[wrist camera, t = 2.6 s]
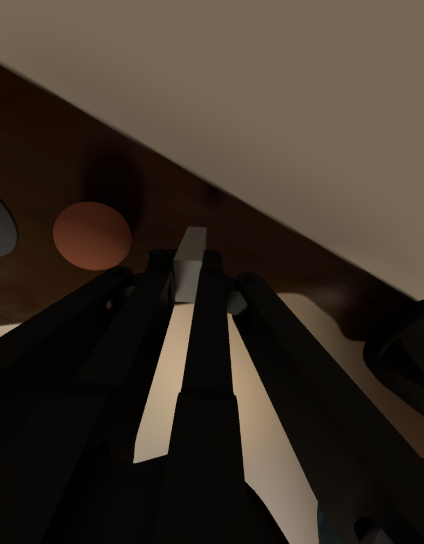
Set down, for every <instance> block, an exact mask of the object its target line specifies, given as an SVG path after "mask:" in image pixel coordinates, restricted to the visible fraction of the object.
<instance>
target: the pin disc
mask: <svg viewBox="0 0 424 544" xmlns="http://www.w3.org/2000/svg"><path fill="white" fill-rule="evenodd" d="M17 241H18V232H17V227H16V224H15V222H14V219H13V217H12V216H11V214H10V212H9V211H8V210H7V208H6V207H5V206H4V205H3V203H2V202H1V201H0V256H4V255H6V254H8V253H10V252H11V251H13V249H14V248H15V247H16V244H17Z"/></svg>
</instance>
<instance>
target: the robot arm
mask: <svg viewBox="0 0 424 544" xmlns="http://www.w3.org/2000/svg"><path fill="white" fill-rule="evenodd" d="M146 254H147V263H148V268H147V269H146V271H145V272H144V273H139V274H132V269H131V268H129V267H123V266H118V267H115V268H111V269H109V270H107V271H105V272H104V273H102V274H101V275H99V276H97V277H96V278H94V279H93V280H91V281H89V282H88V283H86V284H85V285H83V286H81V287H80V288H78V289H77V290H75V291H73V292H72V293H70V294H69V295H67V296H65V297H64V298H62V299H60V300H59V301H57V302H56V303H54V304H52V305H51V306H49V307H48V308H46V309H44V310H43V311H41V312H40V313H38V314H36V315H35V316H33V317H32V318H30V319H28V320H27V321H25V322H24V323H22V324H20V325H19V326H17V327H16V328H14V329H12V330H11V331H9V332H8V333H6V334H4V335H3V336H1V337H0V544H289V542H288V540H287V539H286V537H285V536H284V534H283V532H282V531H281V529H280V528H279V526H278V524H277V523H276V521H275V519H274V518H273V516H272V515H271V513H270V511H269V510H268V508H267V507H266V505H265V504H264V503H263V501H262V500H261V499H260V497H259V496H258V495H257V494H256V492H255V491H254V490H253V489H252V488H251V487H250V486H249V485H248V484H247V483H246V482H245V479H244V467H243V456H242V446H241V434H240V423H239V412H238V404H237V399H236V396H235V395H234V393H233V383H232V370H231V359H230V344H229V331H228V318H227V313H230V314H232V318H233V320H234V323H235V325H236V327H237V329H238V331H239V333H240V336H241V338H242V340H243V342H244V344H245V346H246V348H247V350H248V353H249V355H250V357H251V359H252V362H253V363H254V366H255V368H256V370H257V372H258V374H259V376H260V379H261V381H262V383H263V385H264V387H265V390H266V392H267V394H268V396H269V398H270V400H271V402H272V405H273V407H274V409H275V411H276V413H277V415H278V417H279V420H280V422H281V424H282V426H283V428H284V431H285V432H286V435H287V437H288V439H289V441H290V444H291V446H292V448H293V450H294V452H295V454H296V456H297V459H298V461H299V463H300V465H301V467H302V469H303V472H304V473H305V476H306V478H307V480H308V482H309V485H310V487H311V489H312V491H313V493H314V495H315V497H316V499H317V501H318V508H317V524H318V534H319V535H318V538H319V544H424V458H423V459H422V458H421V457H420V456H419V455H418V454H417V452H416V451H415V450H414V449H413V448H412V447H411V446H410V445H409V443H408V442H407V441H406V440H405V439H404V438H403V437H402V436H401V434H400V433H399V432H398V431H397V430H396V429H395V428H394V426H393V425H392V424H391V423H390V422H389V421H388V420H387V419H386V418H385V416H384V415H383V414H382V413H381V412H380V411H379V410H378V408H377V407H376V406H375V405H374V404H373V403H372V402H371V400H370V399H369V398H368V397H367V396H366V395H365V394H364V393H363V391H361V389H360V388H359V387H358V386H357V385H356V384H355V382H354V381H353V380H352V379H351V378H350V377H349V376H348V374H346V372H345V371H344V370H343V369H342V368H341V367H340V366H339V364H338V363H337V362H336V361H335V360H334V359H333V358H332V357H331V355H330V354H329V353H328V352H327V351H326V350H325V348H324V347H323V346H322V345H321V344H320V343H319V342H318V341H317V339H316V338H314V336H313V335H312V334H311V333H310V332H309V330H308V329H307V328H306V327H305V326H304V325H303V324H302V323H301V322H300V320H299V319H298V318H297V317H296V316H295V315H294V313H293V312H292V311H291V310H290V309H289V308H288V307H287V306H286V304H285V303H284V302H283V301H282V300H281V299H280V298H279V297H278V295H277V294H276V293H275V292H274V291H273V290H272V289H271V287H270V286H269V285H268V284H267V283H266V282H265V281H264V280H263V278H262V277H261V276H259V275H258V274H255V273H253V272H242V273H239V274H238V275H237V278H234V277H230V276H228V275H226V274H225V273H224V270H223V268H222V255H221V253H220V252H219V251H210V250H206V228H205V227H188V228H187V231H186V233H185V235H184V237H183V240H182V242H181V244H180V246H179V249H167V250H165V249H155V250H151V251H148V252H147V253H146ZM174 297H175V301H176V302H195V305H194V311H193V318H192V324H191V330H190V337H189V343H188V350H187V356H186V363H185V370H184V376H183V382H182V388H181V392H180V393H179V394H178V397H177V402H176V408H175V413H174V419H173V425H172V431H171V437H170V443H169V450H168V454H167V455H164V456H160V457H157V458H153V459H150V460H146V461H143V462H139V463H133V459H134V449H135V441H136V436H137V433H138V429H139V426H140V422H141V419H142V415H143V412H144V409H145V405H146V402H147V398H148V395H149V391H150V388H151V384H152V381H153V377H154V374H155V371H156V367H157V363H158V360H159V357H160V353H161V349H162V346H163V343H164V339H165V336H166V333H167V329H168V326H169V322H170V318H171V315H172V312H173V308H174ZM109 300H110V301H111V307H110V308H109V309H107V306H106V303H107V302H108V301H109ZM363 359H364V362H365V364H366V366H367V367H368V368H369V370H370V371H371V372H372V374H373V375H374V376H375V378H376V379H377V380H378V381H379V382H380V383H381V384H382V385H384V386H385V387H386V388H387V389H389V390H390V391H391V392H393V393H394V394H395V395H396V396H398V397H399V398H400V399H401V400H403V401H404V402H405V403H407V404H408V405H409V406H410V407H412V408H413V409H414V410H416V411H417V412H418V413H419V414H421V415H422V416H423V417H424V300H421V301H418V302H415V303H413V304H410V305H408V306H406V307H404V308H402V309H400V310H398V311H396V312H395V313H393V314H392V315H390V316H389V317H387V318H386V319H385V320H384V321H382V322H381V323H380V324H379V325H378V326H377V327H376V328H375V329H374V330H373V331H372V333H371V334H370V336H369V337H368V339H367V341H366V343H365V345H364V349H363Z"/></svg>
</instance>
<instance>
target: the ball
mask: <svg viewBox="0 0 424 544" xmlns="http://www.w3.org/2000/svg"><path fill="white" fill-rule="evenodd" d="M53 237H54V241H55V244H56V246H57V248H58V250H59V252H60V253H61V254H62V256H63V257H64V258H65V259H67V260H68V261H69V262H71V263H72V264H74V265H76V266H78V267H81V268H84V269H89V270H103V269H108V268H111V267H113V266H115V265H117V264H118V263H120V262H121V261H122V260H123V259H124V258H125V257H126V255H127V254H128V252H129V250H130V247H131V241H132V236H131V231H130V228H129V225H128V223H127V222H126V220H125V219H124V218H123V216H122V215H121V214H120V213H119V212H117V211H116V210H115V209H113V208H112V207H110V206H107V205H105V204H102V203H98V202H80V203H76V204H74V205H71V206H69V207H68V208H66V209H65V210H64V211H63V212H62V213H61V214H60V215H59V216H58V218H57V220H56V222H55V225H54V230H53Z"/></svg>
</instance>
